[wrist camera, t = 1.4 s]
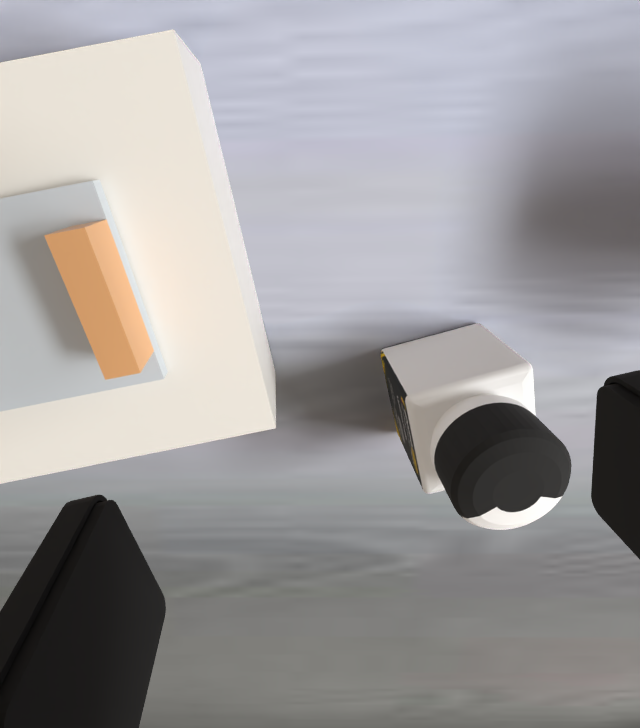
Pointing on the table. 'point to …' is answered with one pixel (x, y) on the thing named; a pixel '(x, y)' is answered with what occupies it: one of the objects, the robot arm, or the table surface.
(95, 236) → the grey tile with orange
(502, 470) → the medicine bottle
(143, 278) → the socket
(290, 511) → the table surface
